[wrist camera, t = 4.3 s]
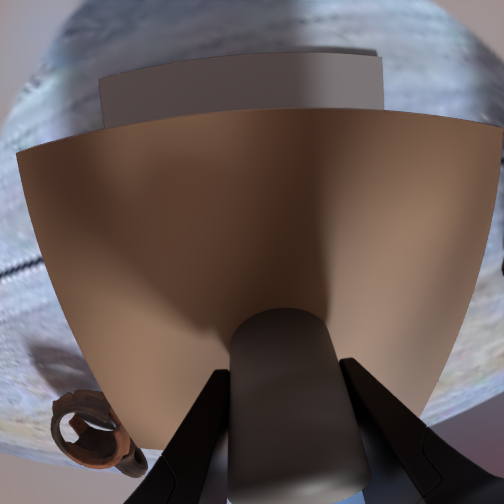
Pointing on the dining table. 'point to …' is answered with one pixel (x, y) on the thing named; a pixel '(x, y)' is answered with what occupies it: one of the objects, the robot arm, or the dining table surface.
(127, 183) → the walnut lid
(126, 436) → the brown curved piece
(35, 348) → the dining table surface
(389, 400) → the robot arm
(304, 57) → the felt mat
